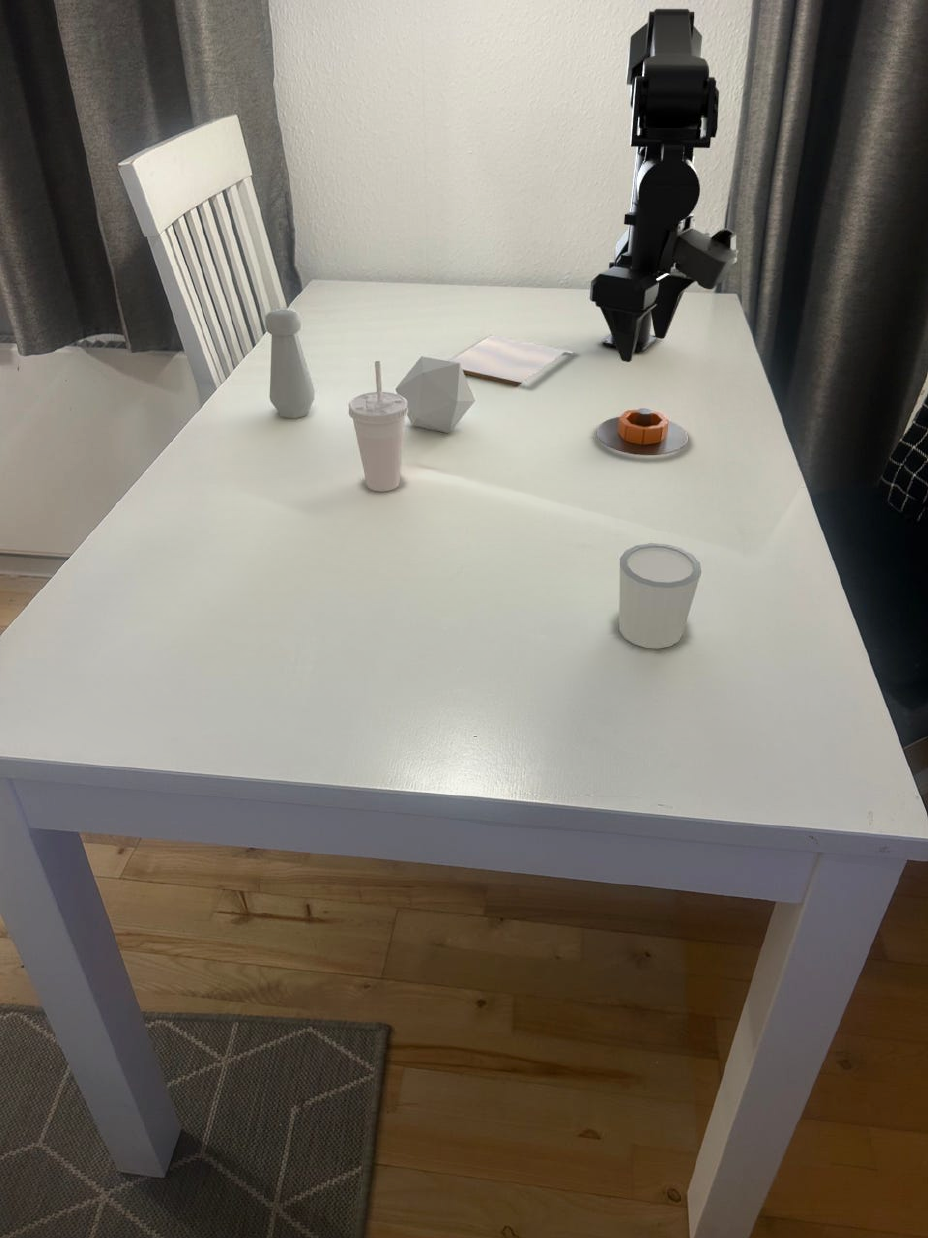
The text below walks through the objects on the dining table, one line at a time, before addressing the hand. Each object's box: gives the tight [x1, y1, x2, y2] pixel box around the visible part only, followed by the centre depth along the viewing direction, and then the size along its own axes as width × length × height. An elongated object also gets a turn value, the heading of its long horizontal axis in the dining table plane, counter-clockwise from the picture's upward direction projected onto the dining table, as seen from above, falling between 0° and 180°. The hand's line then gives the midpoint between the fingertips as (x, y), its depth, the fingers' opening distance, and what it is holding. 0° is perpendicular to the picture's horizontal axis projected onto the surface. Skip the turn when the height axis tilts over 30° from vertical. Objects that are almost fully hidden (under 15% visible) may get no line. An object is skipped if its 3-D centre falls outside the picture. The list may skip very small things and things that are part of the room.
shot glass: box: [618, 542, 702, 650], centre depth 79 cm, size 7×7×7 cm
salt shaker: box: [264, 308, 316, 419], centre depth 115 cm, size 6×6×13 cm
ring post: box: [596, 407, 689, 456], centre depth 110 cm, size 11×11×4 cm
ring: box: [618, 408, 670, 445], centre depth 110 cm, size 6×6×2 cm
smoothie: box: [348, 360, 408, 493], centre depth 99 cm, size 6×6×14 cm
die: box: [395, 356, 476, 434], centre depth 113 cm, size 8×9×10 cm
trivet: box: [449, 334, 575, 387], centre depth 132 cm, size 14×14×1 cm
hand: (643, 349), depth 105 cm, fingers open, 9 cm apart
